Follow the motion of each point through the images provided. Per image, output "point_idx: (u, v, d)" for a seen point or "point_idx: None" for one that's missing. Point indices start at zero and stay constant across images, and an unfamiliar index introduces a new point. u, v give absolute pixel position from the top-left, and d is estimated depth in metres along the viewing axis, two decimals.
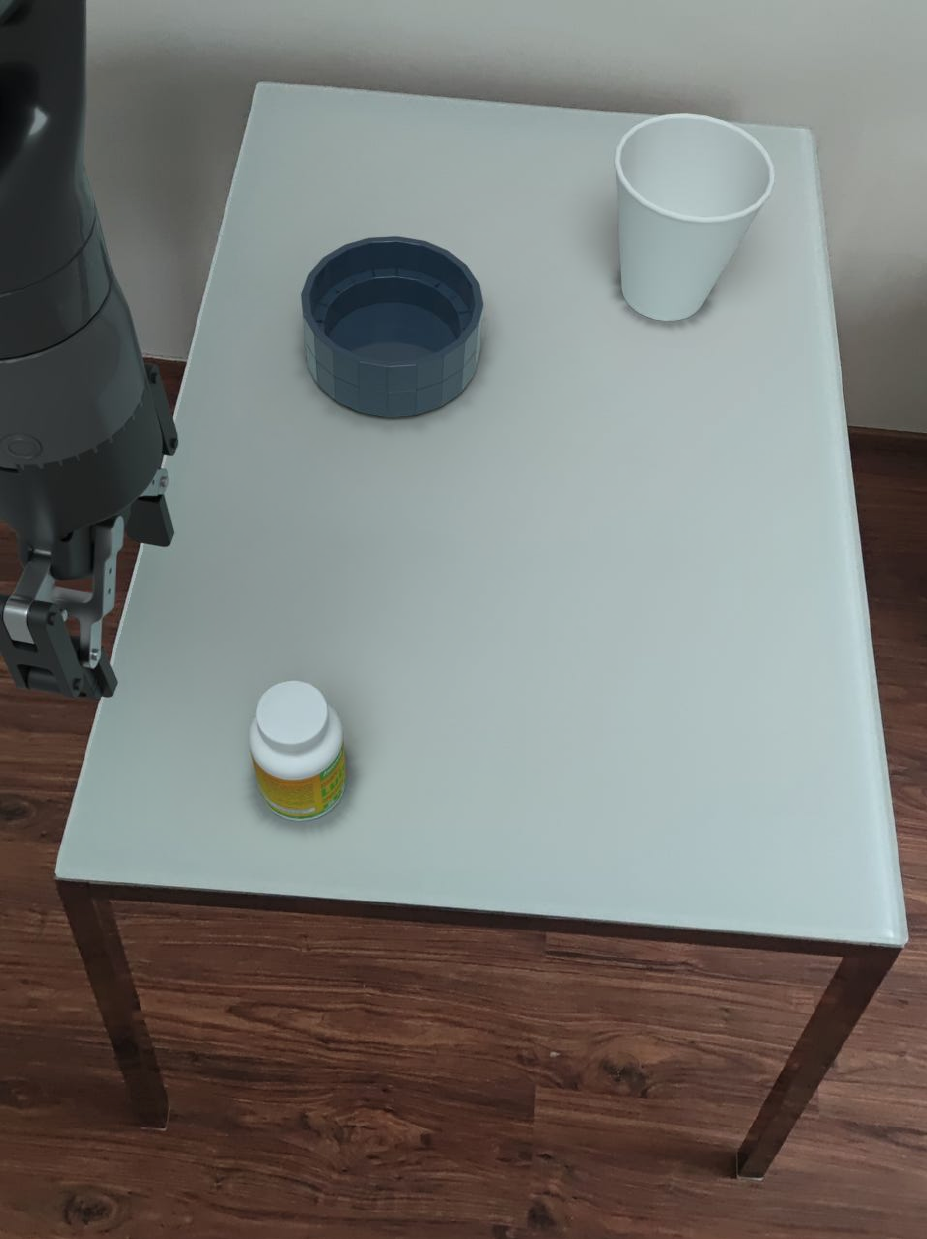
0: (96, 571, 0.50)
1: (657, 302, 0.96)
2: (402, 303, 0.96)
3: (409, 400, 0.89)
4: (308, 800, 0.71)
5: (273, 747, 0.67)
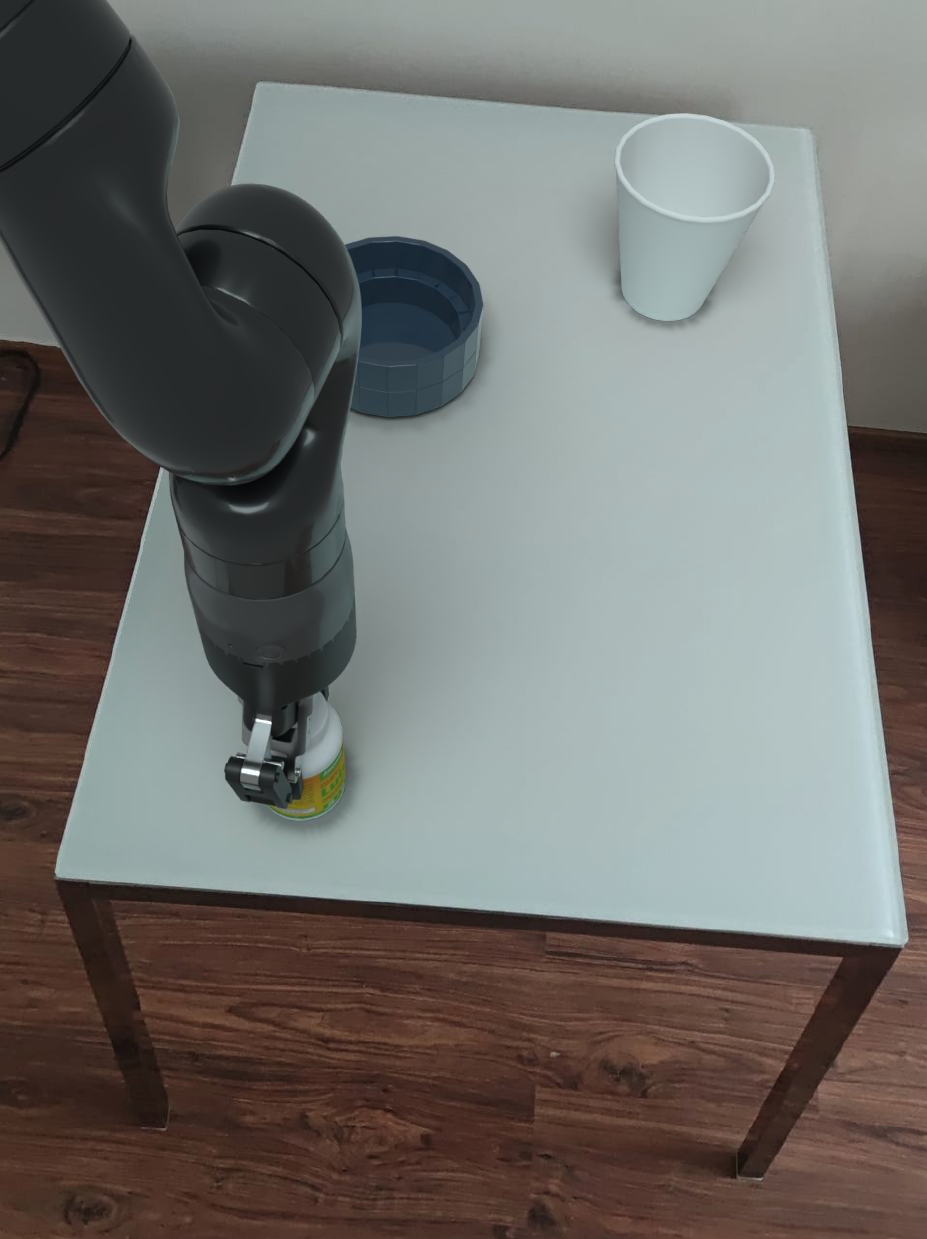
0: (300, 723, 0.62)
1: (657, 302, 0.96)
2: (402, 303, 0.96)
3: (409, 400, 0.89)
4: (308, 800, 0.71)
5: None
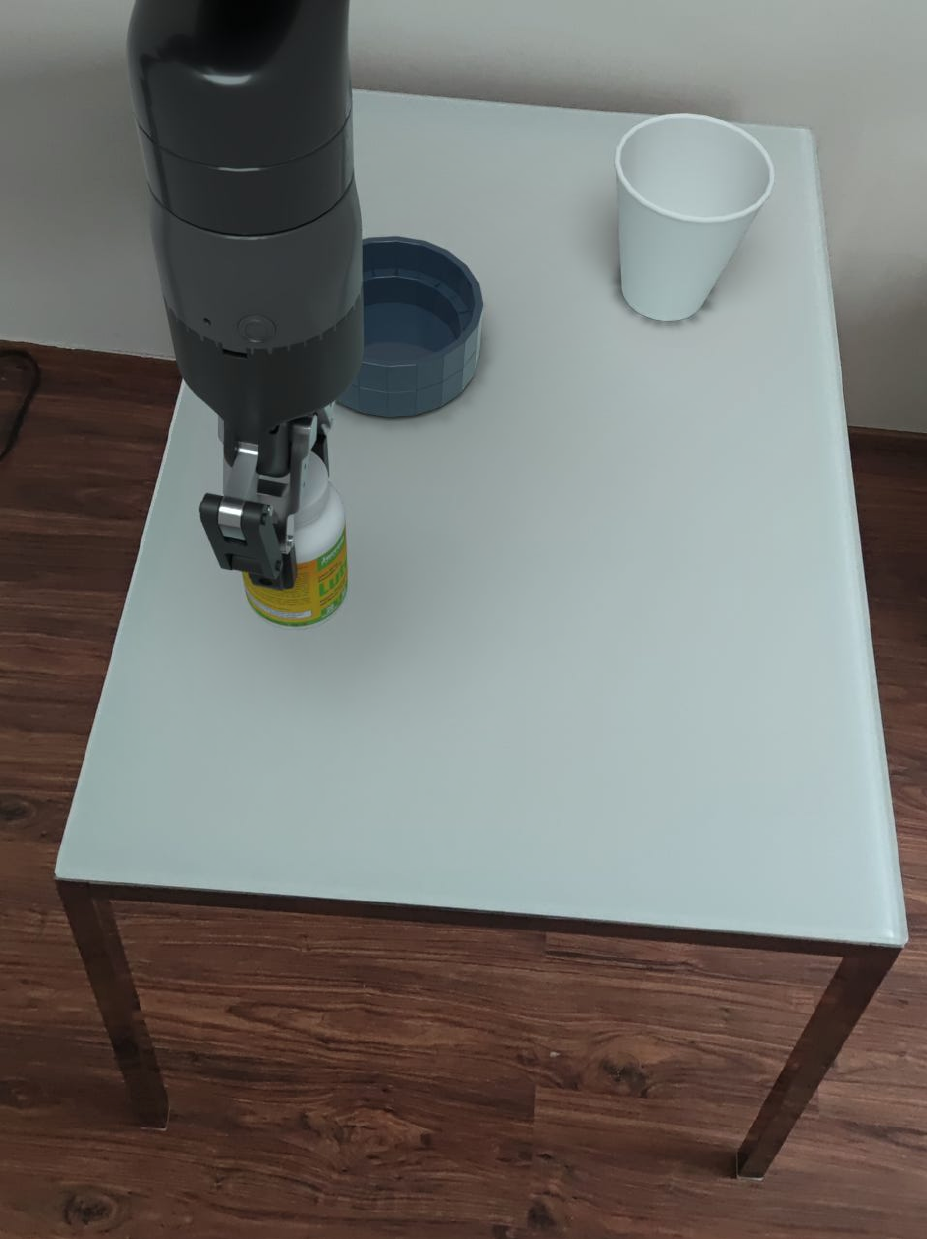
0: (293, 468, 0.51)
1: (657, 302, 0.96)
2: (402, 303, 0.96)
3: (409, 400, 0.89)
4: (303, 597, 0.60)
5: None
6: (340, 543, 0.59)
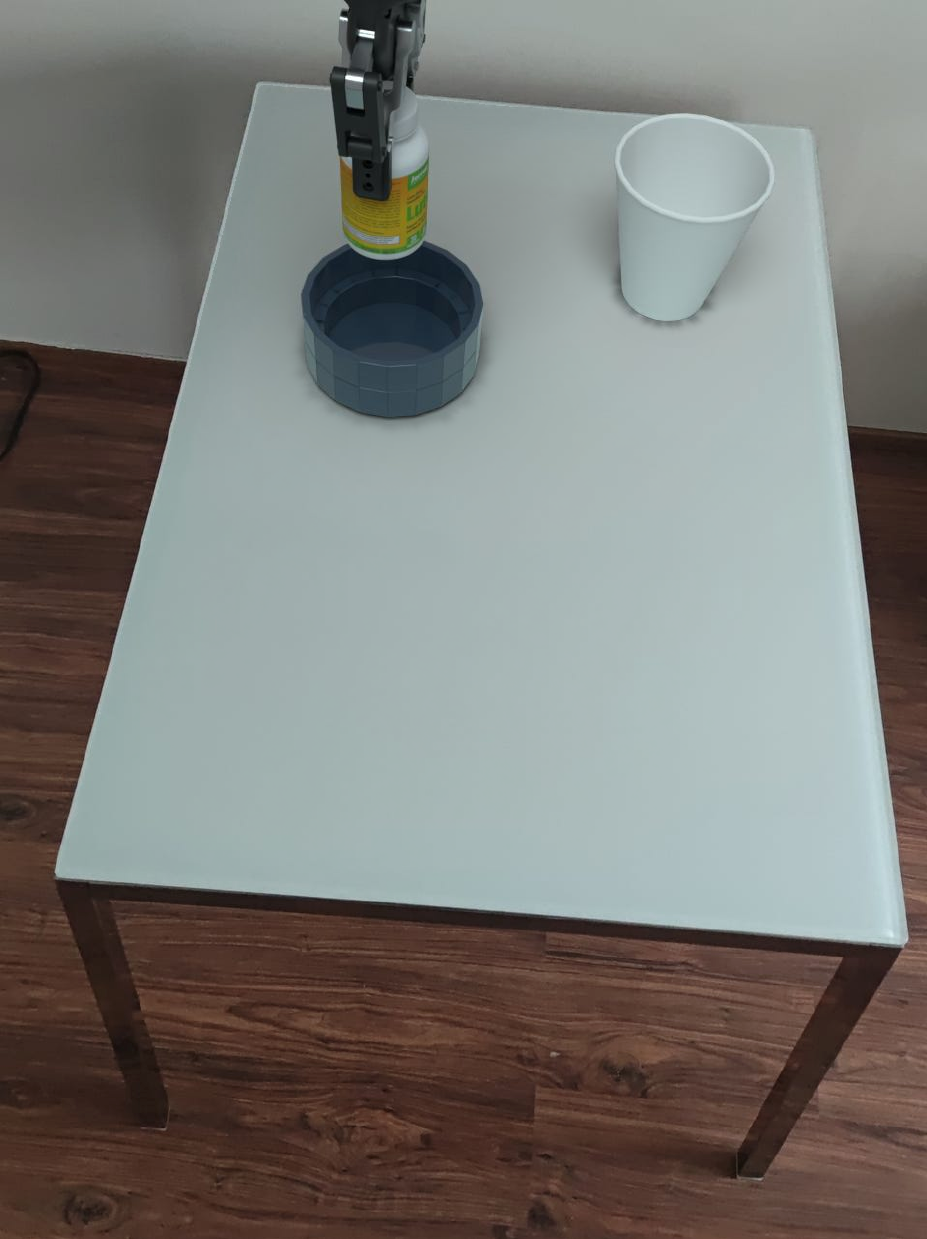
0: (397, 66, 0.65)
1: (657, 302, 0.96)
2: (402, 303, 0.96)
3: (409, 400, 0.89)
4: (394, 219, 0.74)
5: None
6: (425, 169, 0.73)
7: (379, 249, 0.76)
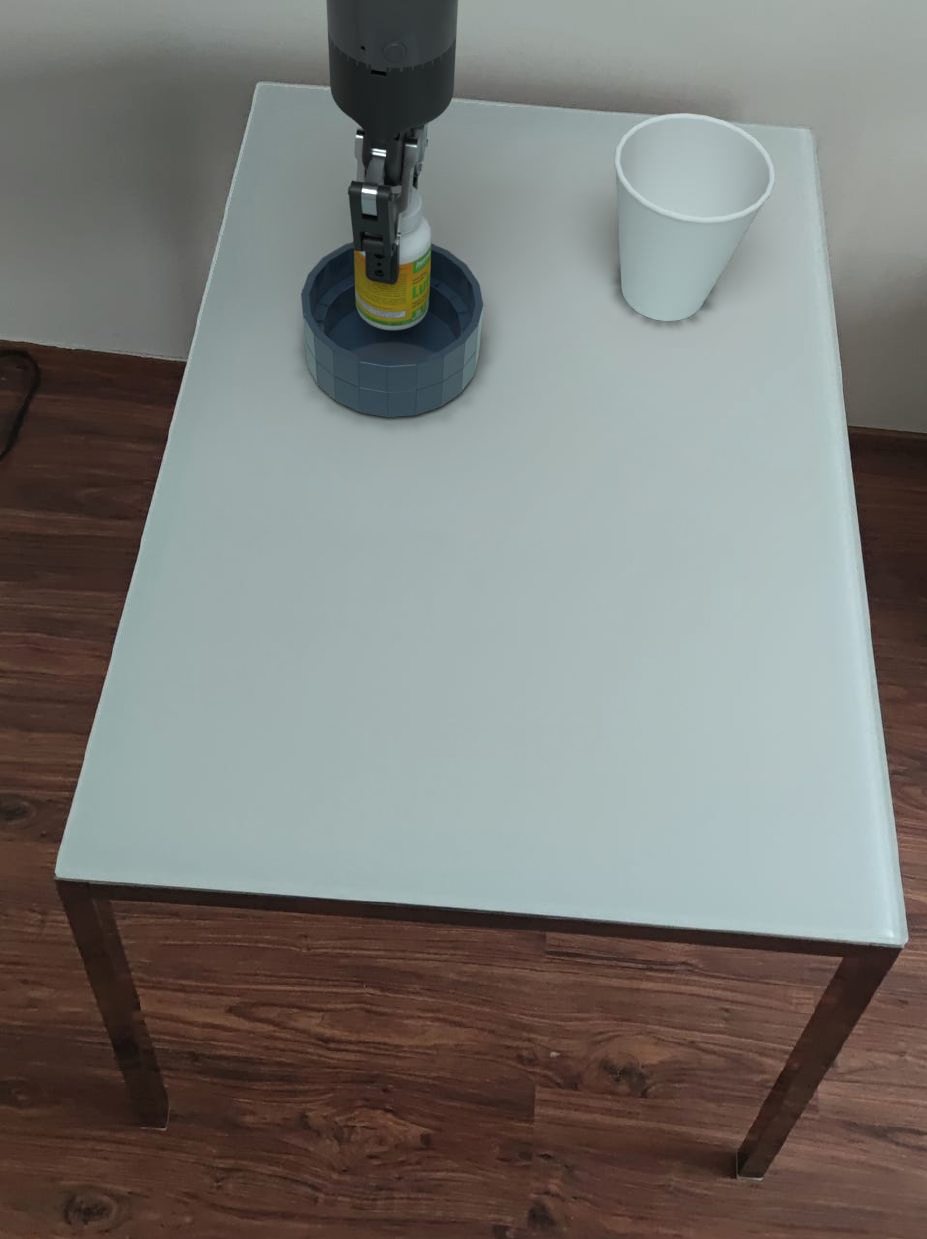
0: (404, 176, 0.77)
1: (657, 302, 0.96)
2: None
3: (409, 400, 0.89)
4: (401, 297, 0.85)
5: None
6: (428, 255, 0.84)
7: (388, 322, 0.87)
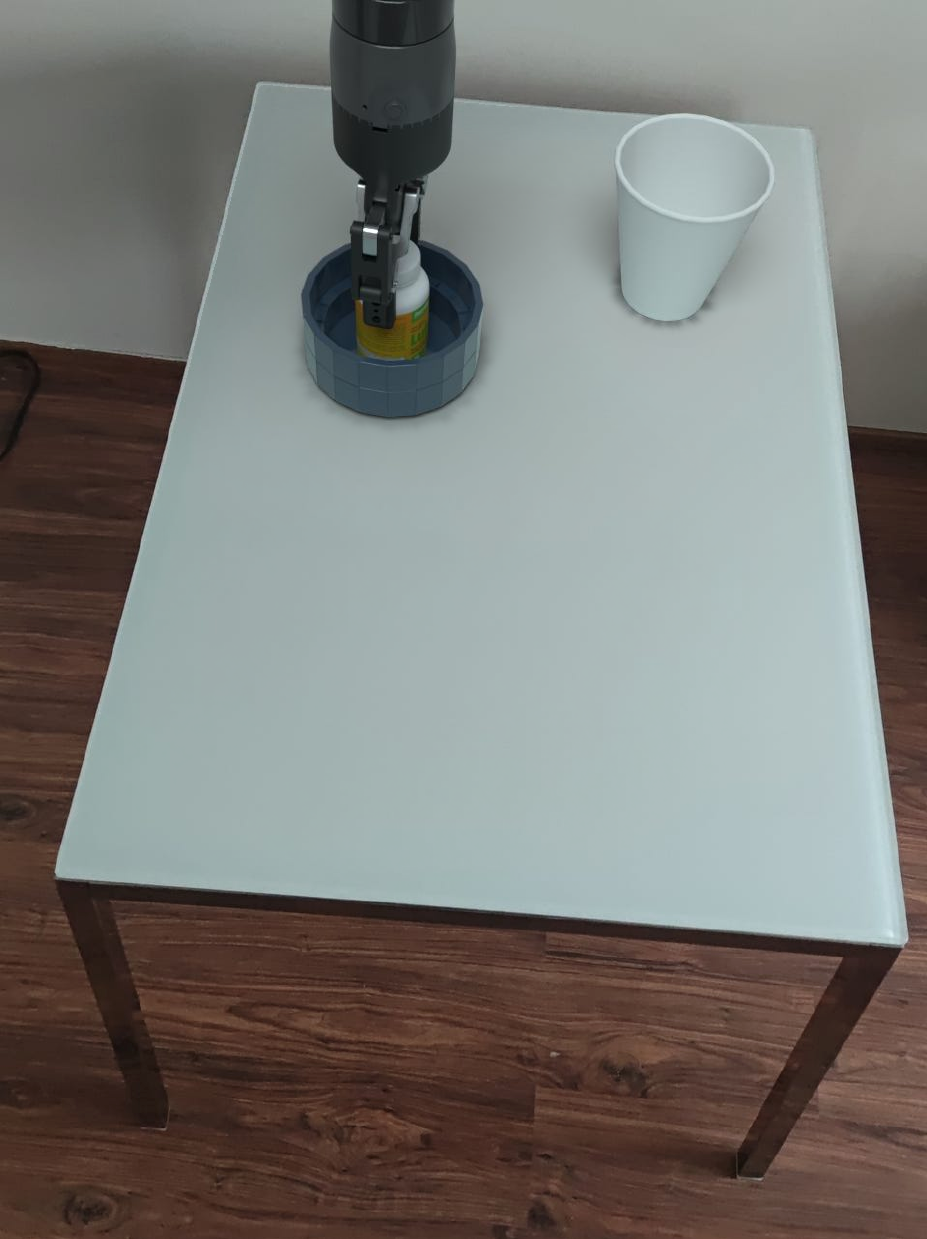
0: (403, 222, 0.79)
1: (657, 302, 0.96)
2: None
3: (409, 400, 0.89)
4: (401, 345, 0.89)
5: None
6: (426, 305, 0.88)
7: None
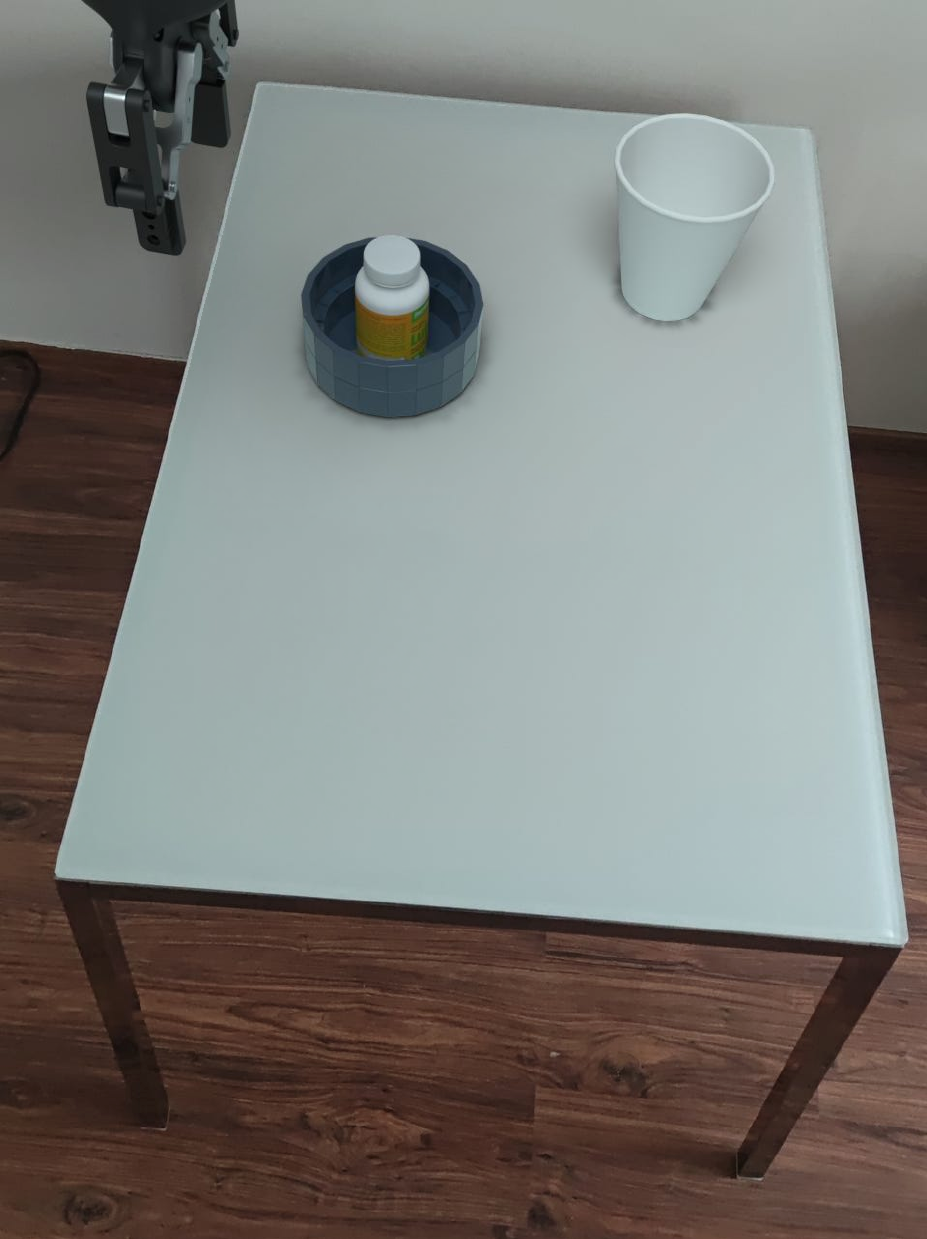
0: (178, 94, 0.55)
1: (657, 302, 0.96)
2: None
3: (409, 400, 0.89)
4: (401, 345, 0.89)
5: (377, 281, 0.85)
6: (426, 305, 0.88)
7: None
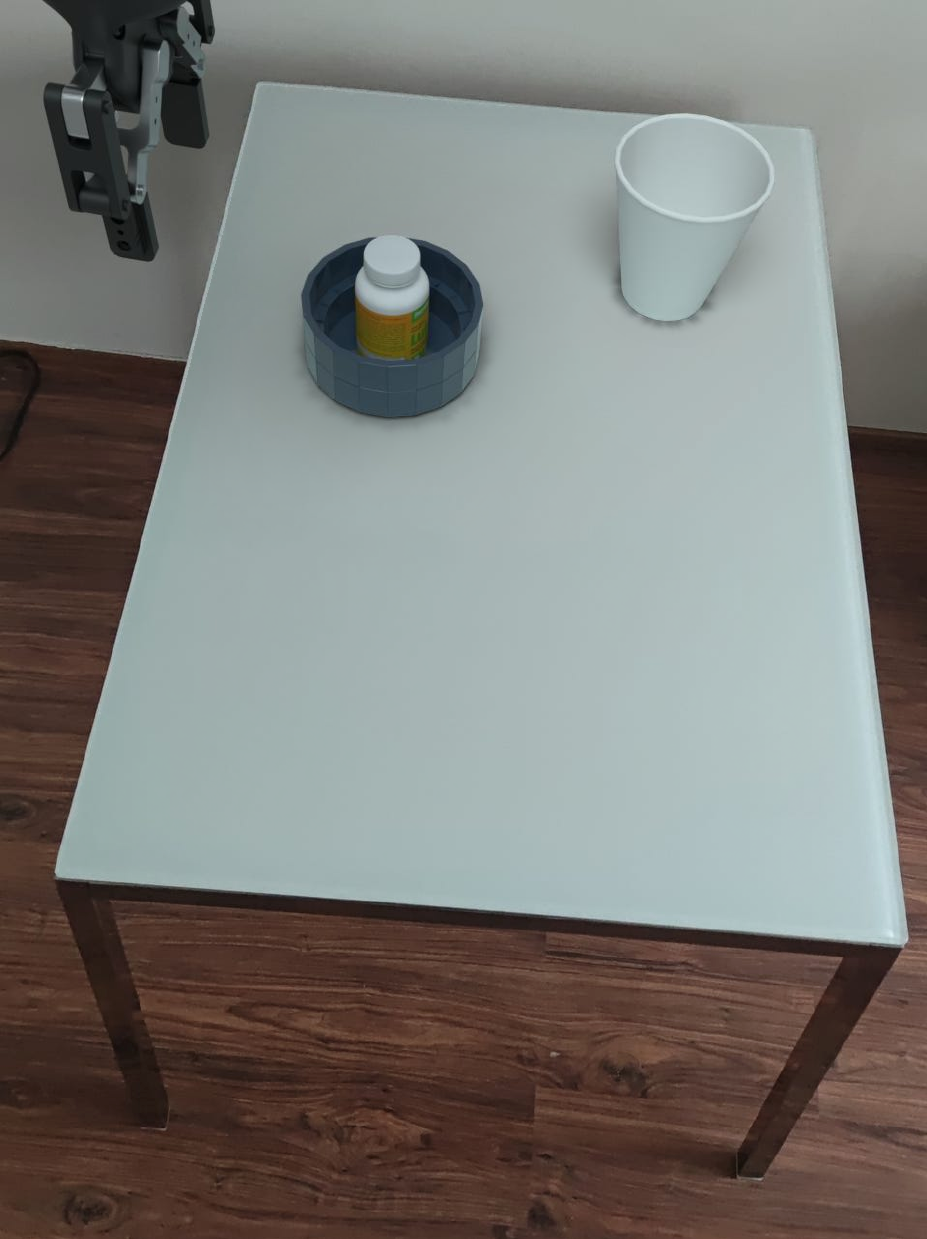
0: (144, 94, 0.53)
1: (657, 302, 0.96)
2: None
3: (409, 400, 0.89)
4: (401, 345, 0.89)
5: (377, 281, 0.85)
6: (426, 305, 0.88)
7: None
